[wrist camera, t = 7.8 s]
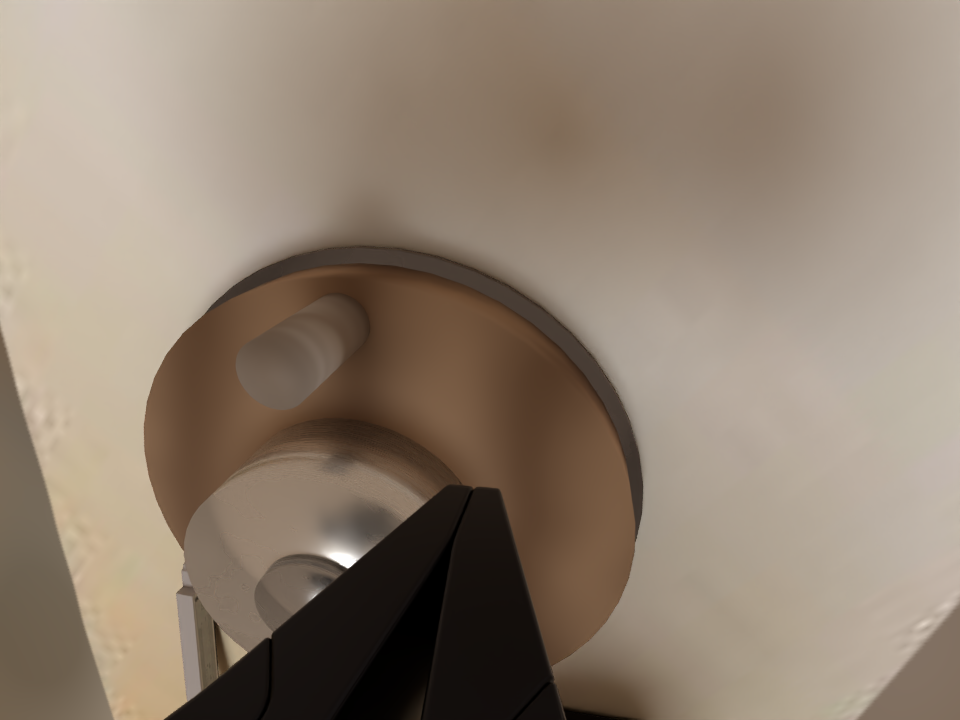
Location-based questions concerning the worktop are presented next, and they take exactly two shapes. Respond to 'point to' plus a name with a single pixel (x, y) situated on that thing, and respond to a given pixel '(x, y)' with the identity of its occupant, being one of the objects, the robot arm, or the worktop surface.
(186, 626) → the caliper
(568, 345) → the turntable stand
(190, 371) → the turntable
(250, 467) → the cover
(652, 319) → the worktop surface
